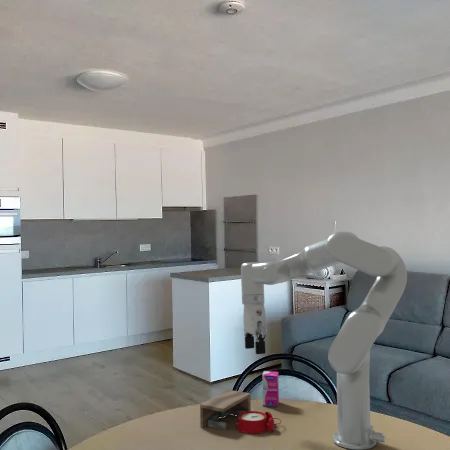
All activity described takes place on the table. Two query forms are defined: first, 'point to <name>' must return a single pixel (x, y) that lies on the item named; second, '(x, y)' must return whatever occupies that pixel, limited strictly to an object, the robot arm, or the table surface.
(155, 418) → the table surface
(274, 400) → the supplement box
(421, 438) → the table surface
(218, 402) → the overhang shelf
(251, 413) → the alarm clock
